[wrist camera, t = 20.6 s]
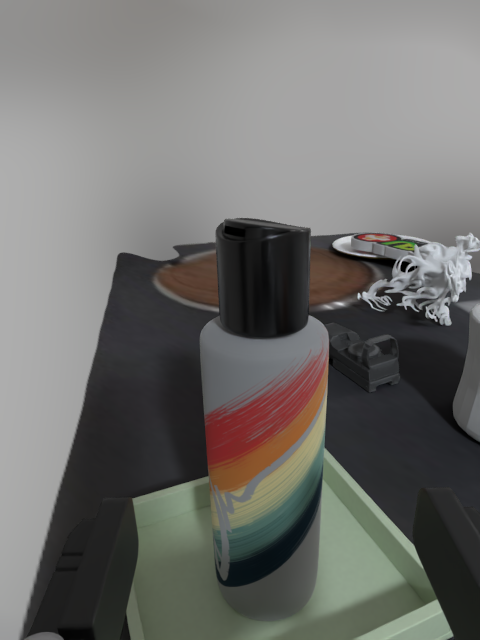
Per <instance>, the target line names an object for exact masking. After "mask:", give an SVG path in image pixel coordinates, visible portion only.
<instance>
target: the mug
mask: <svg viewBox="0 0 480 640" xmlns="http://www.w3.org/2000/svg"><path fill="white" fill-rule="evenodd" d="M453 416H454V418H455V420H456V421H457V423H458V425H459V426H460V427H461V428H462V429H463V430H464V431H465V432H466V433H467V434H468V435H469V436H471V437H472V438H474V439H475V440H477V441H478V442H480V303H479V304H477V305H475V306H474V307H473V308H472V310H471V311H470V325H469V345H468V351H467V355H466V360H465V365H464V370H463V374H462V377H461V380H460V383H459V386H458V389H457V392H456V395H455V398H454V401H453Z"/></svg>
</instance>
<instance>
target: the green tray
mask: <svg viewBox="0 0 480 640" xmlns="http://www.w3.org/2000/svg"><path fill="white" fill-rule="evenodd" d="M132 500H133V505H134V511H135V518H136V525H137V531H138V539H139V549H138V559H137V564H136V569H135V574H134V578H133V583H132V587H131V592H130V596H129V601H128V605H127V610H126V615H127V621H128V627H129V633H130V639H131V640H447V639H449V638H451V637H452V636H453V633H452V631H451V629H450V627H449V624H448V622H447V620H446V618H445V615H444V613H443V611H442V609H441V606H440V604H439V602H438V600H437V597H436V595H435V593H434V590H433V588H432V586H431V584H430V581H429V579H428V577H427V575H426V572H425V570H424V568H423V566H422V563H421V561H420V559H419V557H418V554H417V552H416V549H415V546H414V545H413V544H412V543H411V542H410V541H409V540H408V539H407V538H406V537H405V536H404V534H403V533H402V532H401V531H400V530H399V529H398V528H397V527H396V526H395V525H394V523H393V522H392V521H391V520H390V519H389V518H388V517H387V516H386V515H385V514H384V512H383V511H382V510H381V509H380V508H379V507H378V506H377V505H376V504H375V503H374V501H373V500H372V499H371V498H370V497H369V496H368V495H367V494H366V493H365V492H364V490H363V489H362V488H361V487H360V486H359V485H358V484H357V483H356V482H355V481H354V479H353V478H352V477H351V476H350V475H349V474H348V473H347V472H346V471H345V470H344V469H343V467H342V466H341V465H340V464H339V463H338V462H337V461H336V460H335V459H334V458H333V456H332V455H331V454H330V453H329V452H328V451H327V450H326V449H325V448H324V462H323V481H322V501H321V521H320V540H319V558H318V572H317V580H316V585H315V589H314V591H313V594H312V596H311V598H310V600H309V601H308V602H307V604H306V605H305V606H304V607H303V608H302V609H301V610H300V611H298V612H297V613H296V614H294V615H292V616H290V617H288V618H285V619H282V620H277V621H259V620H255V619H251V618H248V617H246V616H244V615H242V614H240V613H239V612H237V611H236V610H235V609H233V608H232V607H231V606H230V605H229V604H228V602H227V601H226V600H225V598H224V597H223V595H222V593H221V591H220V588H219V585H218V582H217V576H216V568H215V558H214V545H213V531H212V517H211V503H210V488H209V476H207V477H204V478H200V479H197V480H194V481H190V482H187V483H184V484H180V485H177V486H174V487H170V488H167V489H163V490H160V491H157V492H153V493H150V494H147V495H143V496H140V497H136V498H133V499H132Z"/></svg>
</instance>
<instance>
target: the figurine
mask: <svg viewBox="0 0 480 640" xmlns="http://www.w3.org/2000/svg"><path fill="white" fill-rule="evenodd" d="M468 237H469V238H468ZM455 240H456V242H457V246H456V247H453V246H452V247H450V248H446V247H445V246H443V245H442V244H440V243H437V242H431V243H429V244H427V245H423V246H421V247H419V248H418V246H417V245H416V244H415V246H414V256H411V255H407V256H404V257H403V258H402V259H401V260H400V263H399V264H398V266H397V262H398V260H399V259H400V257H401V256H400V257H399V258H398V259H397V261H396V262H395V264H394V267H393V270H392V276H393V279H392V280H391V281H390V282H386V281H387V279H385V280H379V281H378V282H376V283H375V284H373V285H372V286H371V287H370V289H369V291H368V292H367V293H366V292H363V293H362V296H363V298H362V297H361V296H360V294H359V293H358V299H359V297H361V298H362V299H363V300H365V301H366V302H368V303H369V304H370V305H371V307H372V308H373V309H376V308H374V307H373V306H372V304H371V303H370V302H369V301H368V299H371V300H372V301H373V302H375V303H376V305H377V306H378V307H380V306H379V305H378V303H377V302H376V301H375V300H377V299H380V300H381V301H383V299H382V298H384V299H385V300H386V301H387V302H388V303H386V302H385V301H383V302H385V304H384V303H382V302H380V301H379V300H377V301H379V302H380V303H382V304H384V305H387V306H388V304H389V305H391V304H390V303H389V301H388V299H387V298H386V297H388V298H389V299H390V300H391V298H390V297H389V296H384V297H381V298H380V297H376V296H375V295H376V292H377V290H378V289H379V288H380V287H394V289H391V290H387V291H385V292H386V293H395V292H400V293H403V294H405V295H408V296H404V297H403V298H402V303H399V304H397V306H404V307H405V309H406V310H407V308H406V306H411V307H412V308H413V309H414V310H415V311H417V312H419V311H418V310H416V309H415V308H414V304H415V305H416V306H417V307H418V308H419V309H420V310H423V309H421V308H422V306H423V305H425V304H429V303H433V304H431V305H429V306H428V308H427V306H426V314H425V315H426V318H427V317H428V315H429V317H430V318H432V319H435V321H436V322H437V320H436V316H434V315H435V314H436V315H437V316H438V318H440V324H441V325H443V324H444V323H445V325H451V324H452V323H450V322H451V320H450V318H449V309H448V307H447V306H444V303H446V302H448V306H449V305H450V297H447V298H445V299H444V297H445V296H446V294H447V293H448V291H449V290H450V292H451V301H452V302H453V301H454V303H455V302H457V301H458V299H459V293H460V292H463V290H464V291H465V292H466V282H465V278H467V277H469V281H470V280H471V277H472V273H471V265H470V262H469V261H468V260H470V259H471V258H472V256H471V255H469V252H477V251H479V250H480V241H479V240H478V239H477V238H475V237H474V236H473V235H472V233H469V235H468V236H466V237H465V236H456V237H455ZM404 259H411V261H412V263H411V264H409V265H408V266H407V268H406V273H404V272H402V271H401V269H400V266H401V263H402V261H403V260H404ZM396 266H397V269H396ZM411 266H415V268H416V266H417V269H415V270H414V271H412V272H409V273H407V272H408V270H409V268H410V267H411ZM394 281H395V282H394ZM411 284H416V286H412V287H409V288H418V287H421V286H422V285H423V286H424V287H423V288H420V289H418V290H417V293H415V292H410V291H403V292H401V290H403V289H405V288H406V287H408V286H409V285H411ZM462 288H463V289H462ZM451 290H452V291H451ZM422 291H424V292H425V293H421V292H422ZM438 296H439V298H438V299H436V300H427V301H425V302H422V303H421V304H419V305H418V303H417V302H416V299H419V298H427V299H431V298H432V299H435V298H437V297H438ZM405 299H407V300H406V301H405ZM391 301H392V300H391ZM393 303H394V302H393ZM412 304H413V305H412ZM420 307H421V308H420ZM380 308H382V307H380ZM382 309H384V308H382ZM430 309H431V312H432V313H433V315H431V314H430V313H429V310H430ZM432 309H434V312H433V311H432ZM437 309H438V310H437ZM376 310H378V309H376ZM385 310H387V309H385ZM379 311H382V310H379ZM427 313H428V315H427ZM441 314H442V315H441ZM428 319H429V318H428ZM442 323H443V324H442Z"/></svg>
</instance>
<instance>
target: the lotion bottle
mask: <svg viewBox="0 0 480 640" xmlns="http://www.w3.org/2000/svg"><path fill="white" fill-rule="evenodd" d="M310 242H311V229H310V228H305V227H297V226H291V225H286V224H281V223H276V222H271V221H266V220H259V219H249V218H237V219H225V220H224V222H223V223H221V224H220V225H219V226H218V227H217V229H216V254H217V274H218V294H219V314H220V316H219V317H217V318H215V319H213V320H211V321H210V322H209V323H207V324H206V325H205V327H204V328H203V329H202V331H201V335H200V358H201V374H202V389H203V403H204V418H205V432H206V446H207V460H208V474H209V488H210V503H211V517H212V531H213V545H214V558H215V568H216V576H217V582H218V585H219V588H220V591H221V593H222V595H223V597H224V598H225V600H226V601H227V602H228V604H229V605H230V606H231V607H232V608H233V609H235V610H236V611H237V612H239V613H240V614H242V615H244V616H246V617H248V618H251V619H255V620H259V621H277V620H282V619H285V618H288V617H290V616H292V615H294V614H296V613H297V612H298V611H300V610H301V609H302V608H303V607H304V606H305V605H306V604H307V602H308V601H309V600H310V598H311V596H312V594H313V591H314V589H315V585H316V580H317V572H318V558H319V540H320V521H321V501H322V481H323V462H324V442H325V422H326V403H327V383H328V361H329V336H328V331H327V329H326V328H325V326H324V325H323V324H322V323H321V322H320V321H318V320H317V319H315V318H313V317H311V316H309V282H310Z"/></svg>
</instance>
